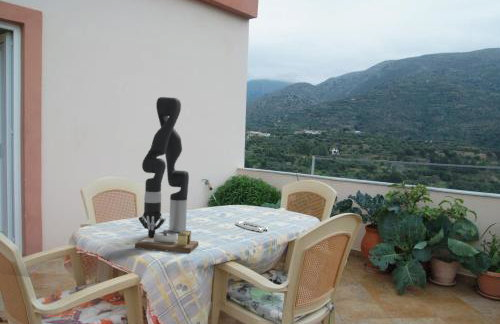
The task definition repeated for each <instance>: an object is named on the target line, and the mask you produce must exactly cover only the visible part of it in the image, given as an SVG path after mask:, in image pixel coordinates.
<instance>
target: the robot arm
mask: <svg viewBox="0 0 500 324" xmlns="http://www.w3.org/2000/svg"><path fill="white" fill-rule="evenodd" d="M181 109H182V103H181V100H180V99H179V98H177V97H171V96H170V97H166V96H161V97H158V98H157V100H156V113H157V117H158V120H159V121H158V122H159V124H160V125H159V126H160V128H159V129H158V130H157V131H156V133H155V134H154V136H153V139H152V143H151V146H150V149H149V150H148V151H147V154H146V155H145V156H144V159H143V160H142V165H141V168H142V170H143V172H144V173H146V174H154V176H153V177H150V178H147V179H146V180H145V186H144V187H145V191H144V192H145V193H144V199H143V200H144V201H143V202H144V204H143V210H144V211H143V215H142V216H140V217H138V220H139V222H140V224H142V227H143V228H144V230H145V229H146V230H147V233H148V234H147V237H149V238H154V234H156V230H158V229H160V227H162V225H163V224H164V223H165V222H166V218H165V217H163V216H162V212H161V210H162V182H163V178H164V174H165V172H166V174H167V181H168V182H167V183H168V185H169V187H173V188H180V189H179V191H177V192H174V193H171V194H170V197H169V219H168V220H169V221H168V222H169V223H168V232H174V233H180V232H181V231H183V230H184V231H187V213H188V211H187V209H188V208H187V207H188V192H189V180H190V176H189V172H188V171H186V170H176V169H175V168H176V166H175V165H176V162H177V161H178V159H179V157H180V156H181V154H182V151H183V146H182V139H181V136H180V134H179V133H178V131H177V130H176V129H175V125H176V123H177V121H178V118H179V116H180V113H181ZM164 155H165V160H164V159H162V158H159V157H161V156H164ZM158 221H159V222H158Z"/></svg>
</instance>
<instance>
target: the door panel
mask: <svg viewBox="0 0 500 324" xmlns="http://www.w3.org/2000/svg"><path fill="white" fill-rule="evenodd" d="M197 247H199V240H198V241H197V240H196V241H195V240H191V243H187V246H177V242H175V243H170V242H158V241H154V238H149V237H148V236H146V237H145V238H142V239H140V240H138V241H137V242H136V243H134V249H142V248H144V250H153V249H155V251H164V250H168V251H167V252H175V251H178V253H189V254H191V253H192V252H193V251H194V250H195V249H197Z"/></svg>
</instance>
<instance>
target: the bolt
mask: <svg viewBox="0 0 500 324" xmlns="http://www.w3.org/2000/svg"><path fill="white" fill-rule="evenodd" d="M177 239H178V234H173V233H172V234H170V233H169V229H165V230H163V233H161V232H160V233H159V232H155V234H154V241H158V242H170V243H175V242H177Z"/></svg>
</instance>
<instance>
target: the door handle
mask: <svg viewBox="0 0 500 324" xmlns="http://www.w3.org/2000/svg"><path fill="white" fill-rule="evenodd" d="M234 224H235V225H236V226H237V225H238V226H237V227H239V226H240V228H242V229H245V230H248V229H249V231H252V230H254V231H253V232H256V231H259V232H258V233H263V232H264V230H267V231H268V232H269V228H268V227H267V226H265V225H262V224H259V223H254V222H250V221H247V220H240V221H238V220H237V221H234ZM244 224H248V225H244ZM250 225H253V226H250ZM254 226H257V227H254ZM258 227H260V228H258ZM262 230H263V231H262ZM267 231H266V232H267Z"/></svg>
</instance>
